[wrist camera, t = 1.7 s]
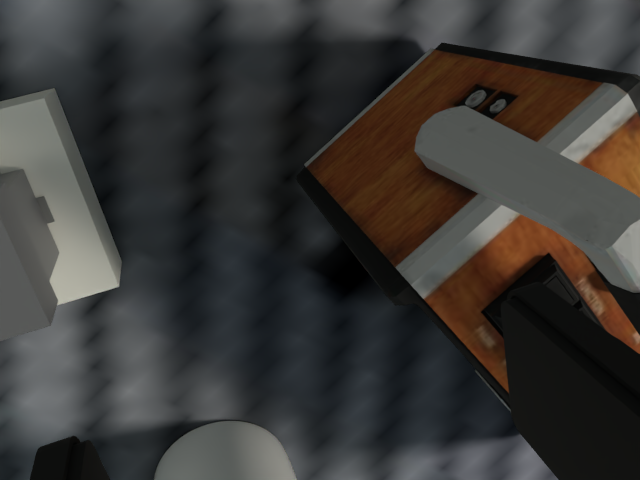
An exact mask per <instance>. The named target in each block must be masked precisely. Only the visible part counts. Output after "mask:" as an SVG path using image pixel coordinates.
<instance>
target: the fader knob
mask: <svg viewBox="0 0 640 480" xmlns="http://www.w3.org/2000/svg"><path fill="white" fill-rule="evenodd" d="M58 255H59V250H58V248H57V246H56V243H55V241H54V239H53V236H52V234H51V232H50V230H49V227H48V225H47V223H46V220H45V218H44V216H43V213H42V211H41V209H40V206H39V204H38V202H37V200H36V197H35V195H34V193H33V190H32V188H31V186H30V183H29V181H28V179H27V176H26V174H25V172H24V170H23V169H20V170H16V171H12V172H8V173H4V174H1V175H0V341H2V340H5V339H8V338H12V337H15V336H18V335H22V334H25V333H28V332H32V331H35V330H38V329H42V328H45V327H48V326H51V323H52V319H53V316H54V313H55V310H56V306H57V303H58V299H57V297H56V295H55V292H54V290H53V288H52V286H51V284H50V278H51V275H52V272H53V270H54V267H55V264H56V261H57V258H58Z"/></svg>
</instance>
